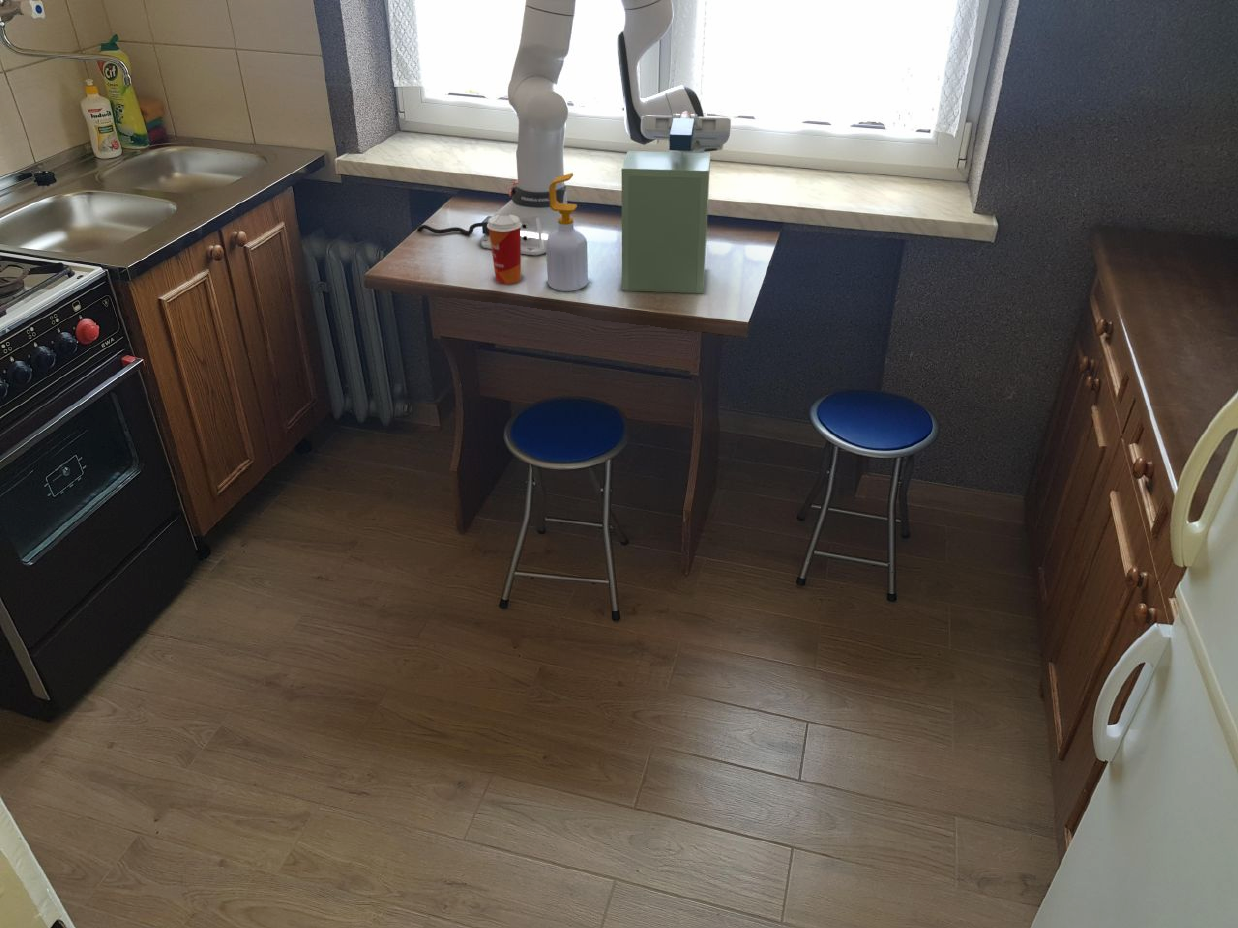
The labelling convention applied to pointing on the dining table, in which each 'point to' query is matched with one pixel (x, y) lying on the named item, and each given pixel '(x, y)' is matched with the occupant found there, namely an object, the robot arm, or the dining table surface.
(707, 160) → the stand
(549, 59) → the robot arm
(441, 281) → the dining table surface
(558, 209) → the soap bottle
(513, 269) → the paper cup
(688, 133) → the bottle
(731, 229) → the dining table surface
